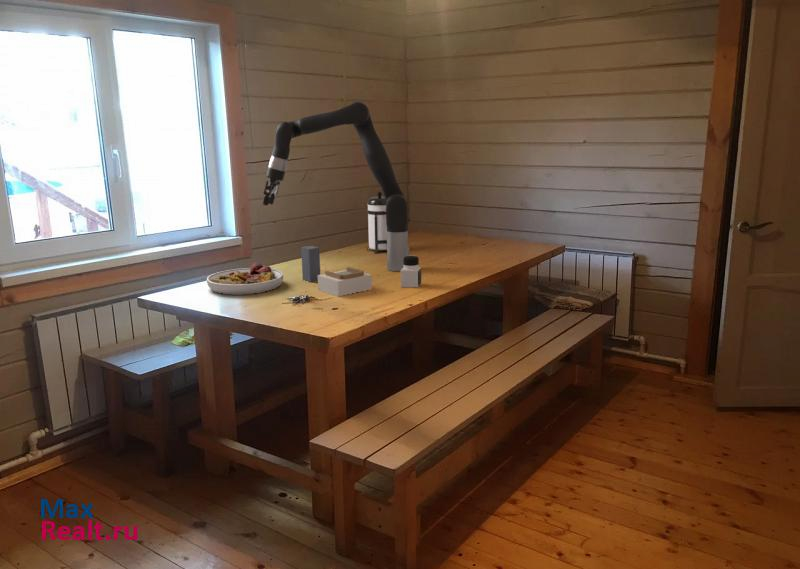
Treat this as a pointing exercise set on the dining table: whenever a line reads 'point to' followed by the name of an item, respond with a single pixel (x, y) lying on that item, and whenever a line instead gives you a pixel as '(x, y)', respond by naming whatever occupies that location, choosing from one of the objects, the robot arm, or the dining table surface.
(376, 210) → the coffee press
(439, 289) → the dining table surface
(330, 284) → the stand
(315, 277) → the grey tall block
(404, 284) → the medicine bottle
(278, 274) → the bowl
